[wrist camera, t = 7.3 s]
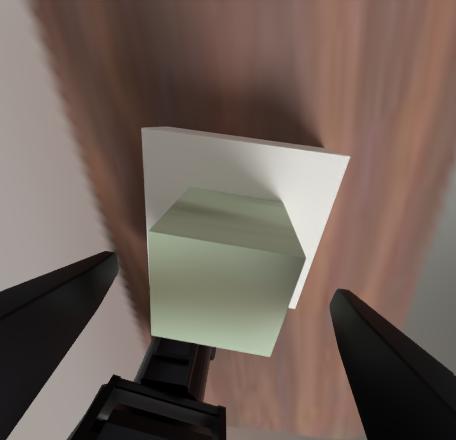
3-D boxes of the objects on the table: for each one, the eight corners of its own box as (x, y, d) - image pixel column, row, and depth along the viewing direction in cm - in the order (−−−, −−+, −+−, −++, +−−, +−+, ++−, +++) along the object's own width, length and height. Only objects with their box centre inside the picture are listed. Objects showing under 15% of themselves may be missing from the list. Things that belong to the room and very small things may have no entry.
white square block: (285, 270, 18) (294, 308, 14) (169, 252, 18) (149, 285, 14) (322, 147, 13) (350, 156, 10) (169, 126, 14) (141, 127, 10)
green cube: (263, 276, 13) (270, 357, 9) (184, 262, 13) (151, 335, 9) (283, 202, 11) (306, 258, 6) (189, 187, 11) (147, 231, 7)
